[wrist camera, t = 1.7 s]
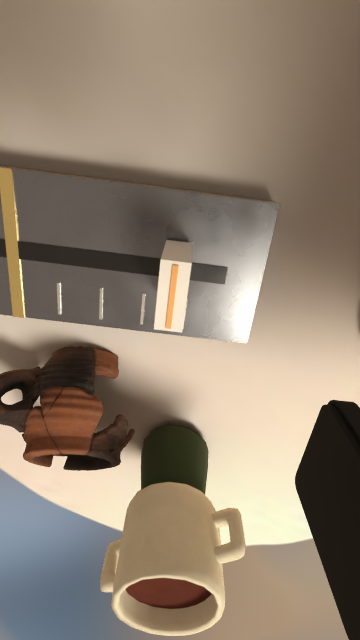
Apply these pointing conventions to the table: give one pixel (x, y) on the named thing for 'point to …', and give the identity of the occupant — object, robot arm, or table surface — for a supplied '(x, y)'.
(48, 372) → the pottery mug
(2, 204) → the console
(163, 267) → the fader tab
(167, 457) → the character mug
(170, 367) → the table surface
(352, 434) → the robot arm
